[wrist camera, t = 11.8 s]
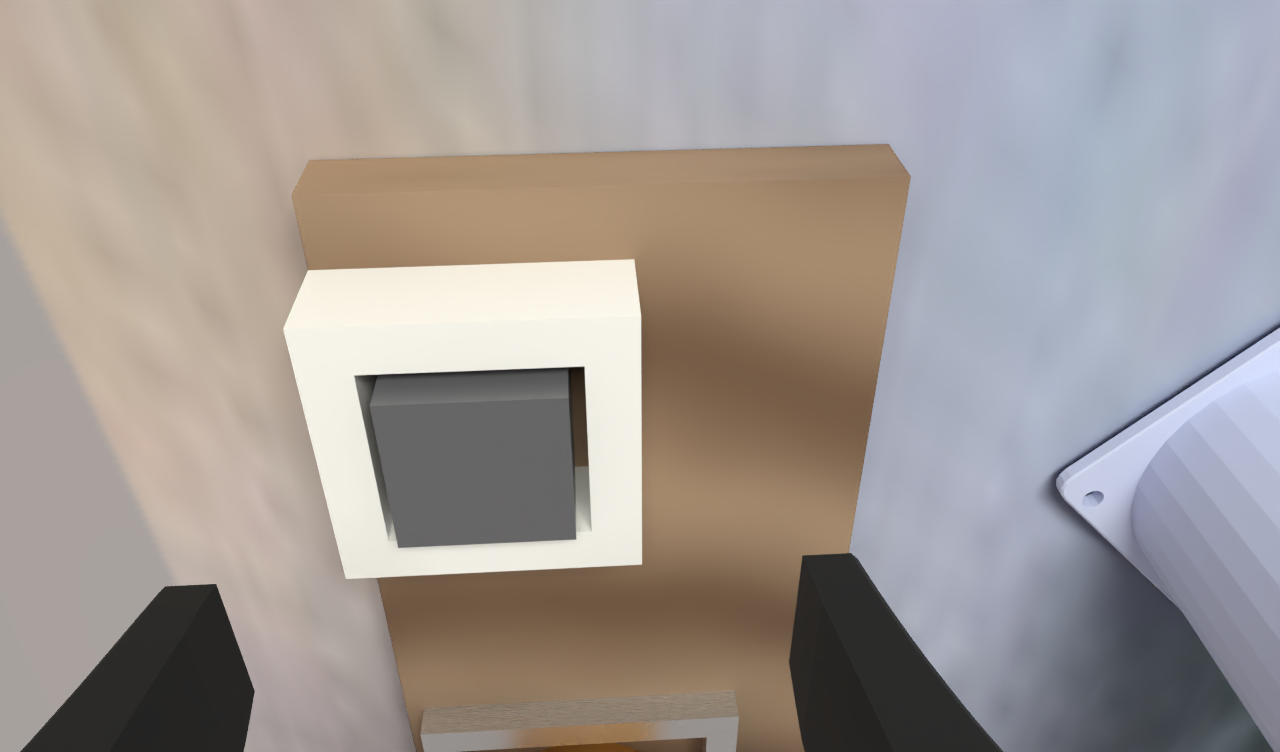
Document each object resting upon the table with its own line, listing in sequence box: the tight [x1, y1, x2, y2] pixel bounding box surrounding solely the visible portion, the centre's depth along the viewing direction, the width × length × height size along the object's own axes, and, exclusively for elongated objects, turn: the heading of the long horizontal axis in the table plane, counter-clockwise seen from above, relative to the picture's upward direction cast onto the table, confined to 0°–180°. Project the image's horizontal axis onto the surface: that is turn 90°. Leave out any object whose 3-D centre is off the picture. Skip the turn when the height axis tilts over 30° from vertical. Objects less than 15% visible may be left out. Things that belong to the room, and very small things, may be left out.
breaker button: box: [370, 367, 576, 548], centre depth 19 cm, size 3×3×2 cm
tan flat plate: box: [292, 144, 911, 752], centre depth 25 cm, size 23×11×2 cm, turn 0°
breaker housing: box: [283, 259, 642, 579], centre depth 19 cm, size 6×6×2 cm
